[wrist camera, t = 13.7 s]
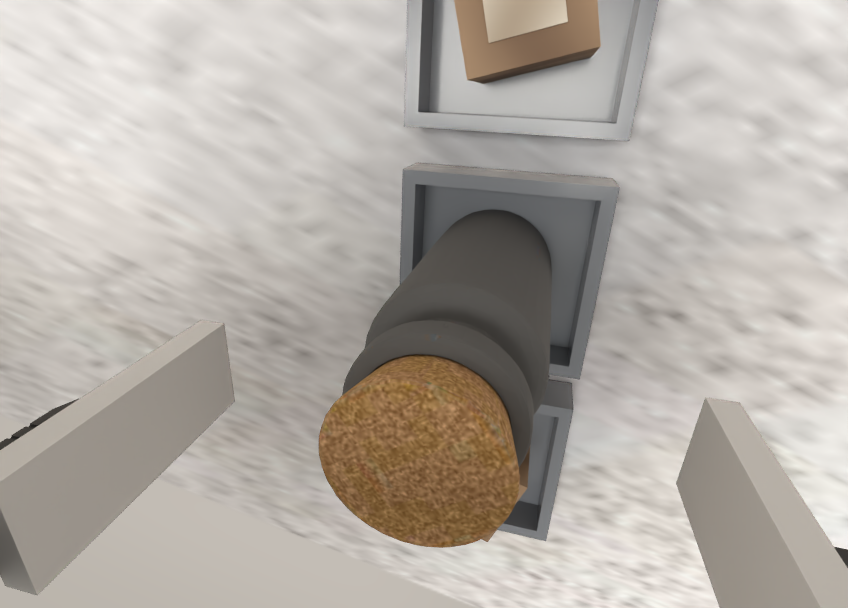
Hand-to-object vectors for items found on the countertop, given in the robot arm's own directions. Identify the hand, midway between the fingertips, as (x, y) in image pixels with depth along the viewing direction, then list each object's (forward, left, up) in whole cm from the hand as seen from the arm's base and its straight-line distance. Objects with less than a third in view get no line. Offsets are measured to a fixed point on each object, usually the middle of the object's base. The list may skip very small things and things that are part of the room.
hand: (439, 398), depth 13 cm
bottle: (0, 0, -12) cm, 12 cm away
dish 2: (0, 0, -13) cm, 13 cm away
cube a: (0, +11, -12) cm, 16 cm away
